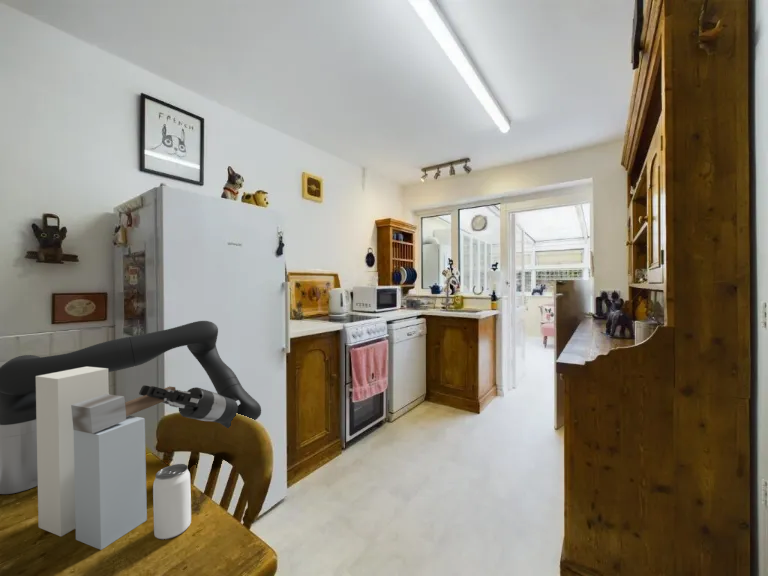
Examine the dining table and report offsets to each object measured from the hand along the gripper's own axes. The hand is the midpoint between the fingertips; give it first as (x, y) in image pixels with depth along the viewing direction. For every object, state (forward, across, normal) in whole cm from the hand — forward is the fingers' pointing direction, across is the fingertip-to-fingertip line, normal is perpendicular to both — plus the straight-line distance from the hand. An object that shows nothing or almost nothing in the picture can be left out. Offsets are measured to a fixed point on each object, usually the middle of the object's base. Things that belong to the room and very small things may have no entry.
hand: (145, 390), depth 75 cm
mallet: (0, 0, +5) cm, 5 cm away
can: (-11, +12, +25) cm, 30 cm away
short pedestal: (-7, 0, +27) cm, 28 cm away
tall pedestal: (-7, -12, +27) cm, 30 cm away
